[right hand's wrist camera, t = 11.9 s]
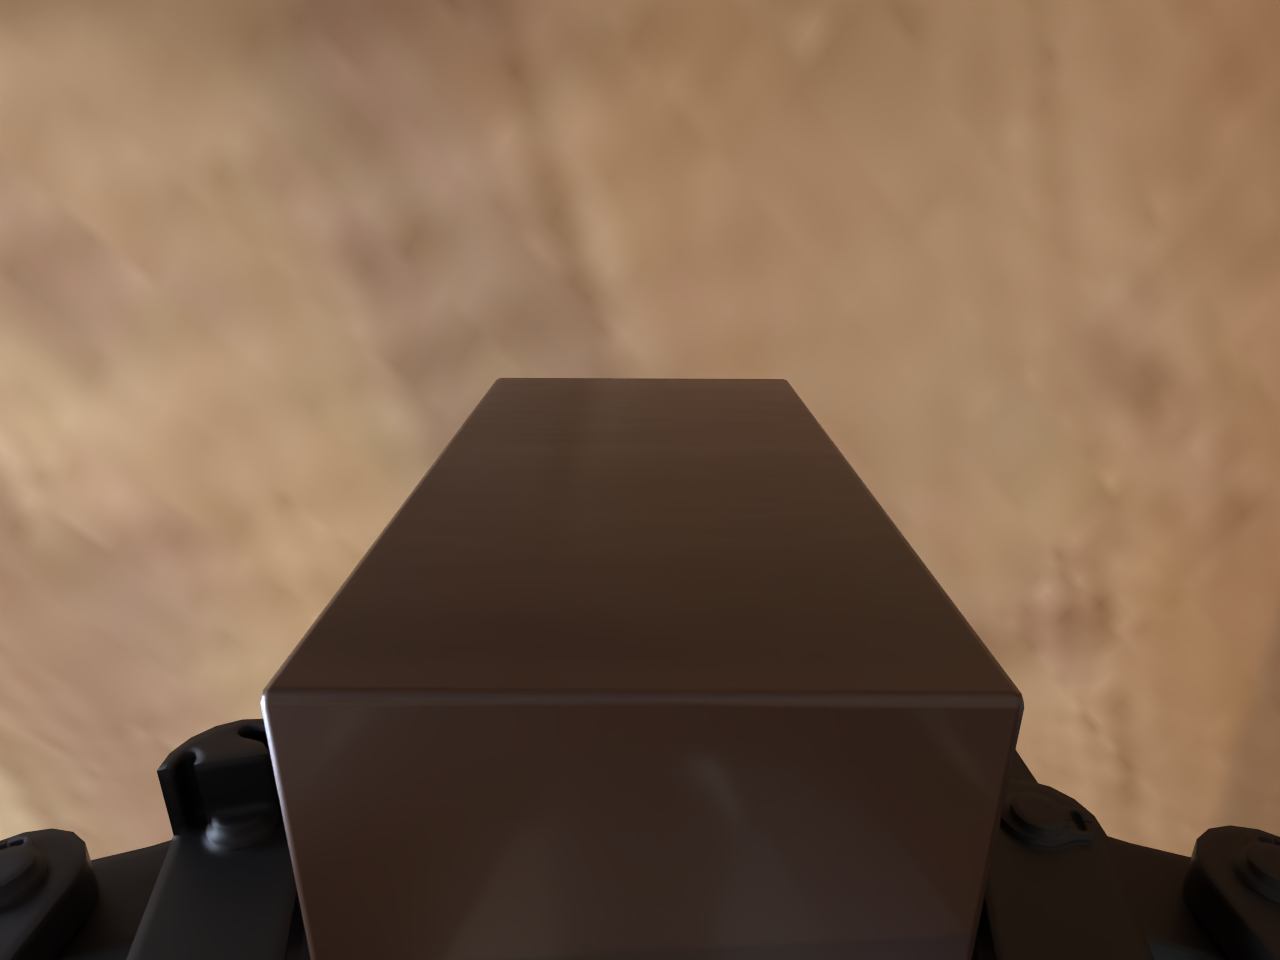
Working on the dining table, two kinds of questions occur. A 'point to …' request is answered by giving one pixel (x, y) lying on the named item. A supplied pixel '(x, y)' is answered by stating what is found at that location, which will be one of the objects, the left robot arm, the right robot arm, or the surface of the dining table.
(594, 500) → the walnut beam
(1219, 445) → the dining table surface
